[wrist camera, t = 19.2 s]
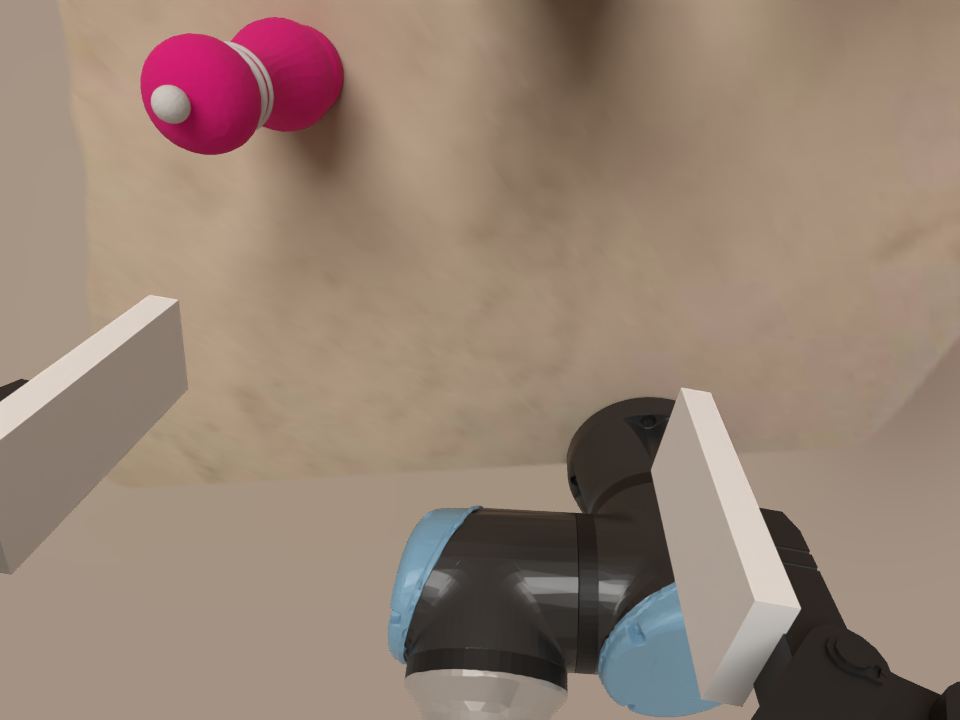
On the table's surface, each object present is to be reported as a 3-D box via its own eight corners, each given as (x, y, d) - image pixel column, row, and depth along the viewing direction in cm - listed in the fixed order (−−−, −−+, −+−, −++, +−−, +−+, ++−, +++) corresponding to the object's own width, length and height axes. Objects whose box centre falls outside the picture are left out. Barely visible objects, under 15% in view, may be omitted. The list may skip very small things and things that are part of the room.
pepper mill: (352, 124, 49) (244, 188, 32) (262, 118, 49) (107, 177, 32) (347, 19, 45) (223, 26, 28) (250, 13, 46) (68, 16, 28)
